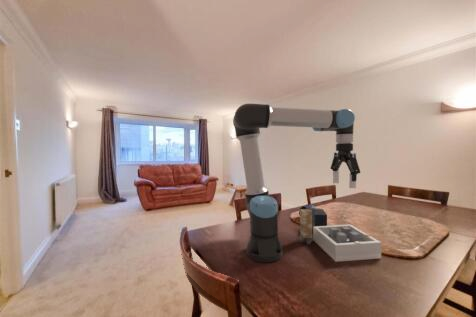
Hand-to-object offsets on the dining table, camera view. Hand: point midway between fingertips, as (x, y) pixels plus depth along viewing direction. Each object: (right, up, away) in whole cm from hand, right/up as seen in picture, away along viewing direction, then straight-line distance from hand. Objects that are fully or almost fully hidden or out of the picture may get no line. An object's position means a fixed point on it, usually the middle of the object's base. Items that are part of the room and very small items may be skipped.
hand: (343, 185), depth 101 cm
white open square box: (-6, -26, -12) cm, 29 cm away
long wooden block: (-21, -26, -5) cm, 34 cm away
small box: (-9, -25, +7) cm, 28 cm away
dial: (-6, -24, -13) cm, 28 cm away
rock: (-8, -25, +25) cm, 36 cm away
